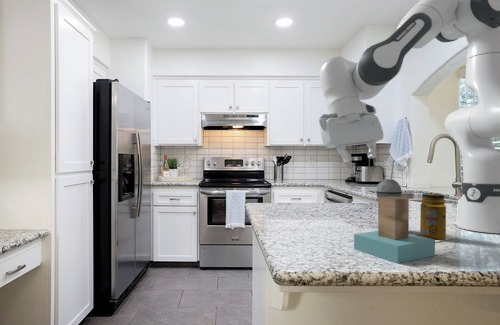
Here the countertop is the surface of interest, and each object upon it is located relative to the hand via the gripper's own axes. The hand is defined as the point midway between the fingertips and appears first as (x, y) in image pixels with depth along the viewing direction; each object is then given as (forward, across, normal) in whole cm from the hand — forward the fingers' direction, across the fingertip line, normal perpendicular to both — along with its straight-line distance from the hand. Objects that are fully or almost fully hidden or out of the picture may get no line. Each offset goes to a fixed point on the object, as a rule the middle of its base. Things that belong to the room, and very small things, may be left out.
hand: (360, 159), depth 86 cm
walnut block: (+20, -6, -8) cm, 23 cm away
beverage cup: (+21, +12, +9) cm, 26 cm away
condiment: (+25, +14, -2) cm, 29 cm away
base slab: (+24, -7, -7) cm, 26 cm away
